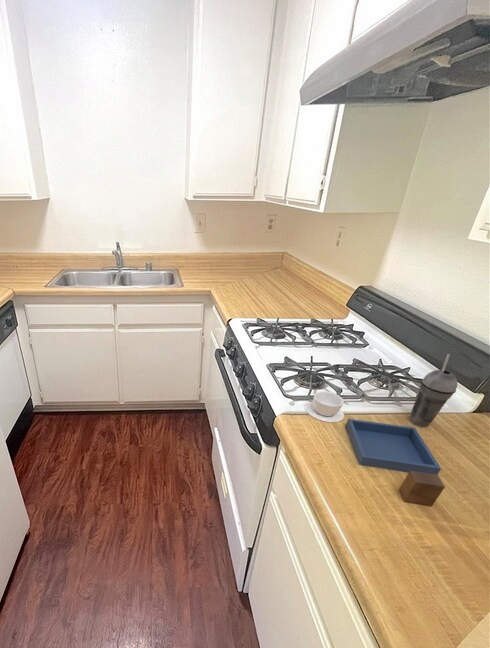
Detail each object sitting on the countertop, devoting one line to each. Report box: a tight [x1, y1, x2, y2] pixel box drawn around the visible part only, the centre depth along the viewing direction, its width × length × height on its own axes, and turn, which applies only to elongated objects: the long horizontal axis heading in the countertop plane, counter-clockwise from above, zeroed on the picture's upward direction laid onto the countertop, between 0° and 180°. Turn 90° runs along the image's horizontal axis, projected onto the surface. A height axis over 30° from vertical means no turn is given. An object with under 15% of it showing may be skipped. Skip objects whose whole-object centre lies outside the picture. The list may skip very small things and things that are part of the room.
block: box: [398, 471, 446, 508], centre depth 68 cm, size 5×3×6 cm, turn 78°
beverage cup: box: [408, 353, 458, 428], centre depth 86 cm, size 7×7×20 cm
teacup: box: [304, 390, 345, 423], centre depth 93 cm, size 10×10×5 cm
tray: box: [344, 418, 442, 475], centre depth 81 cm, size 16×15×3 cm
